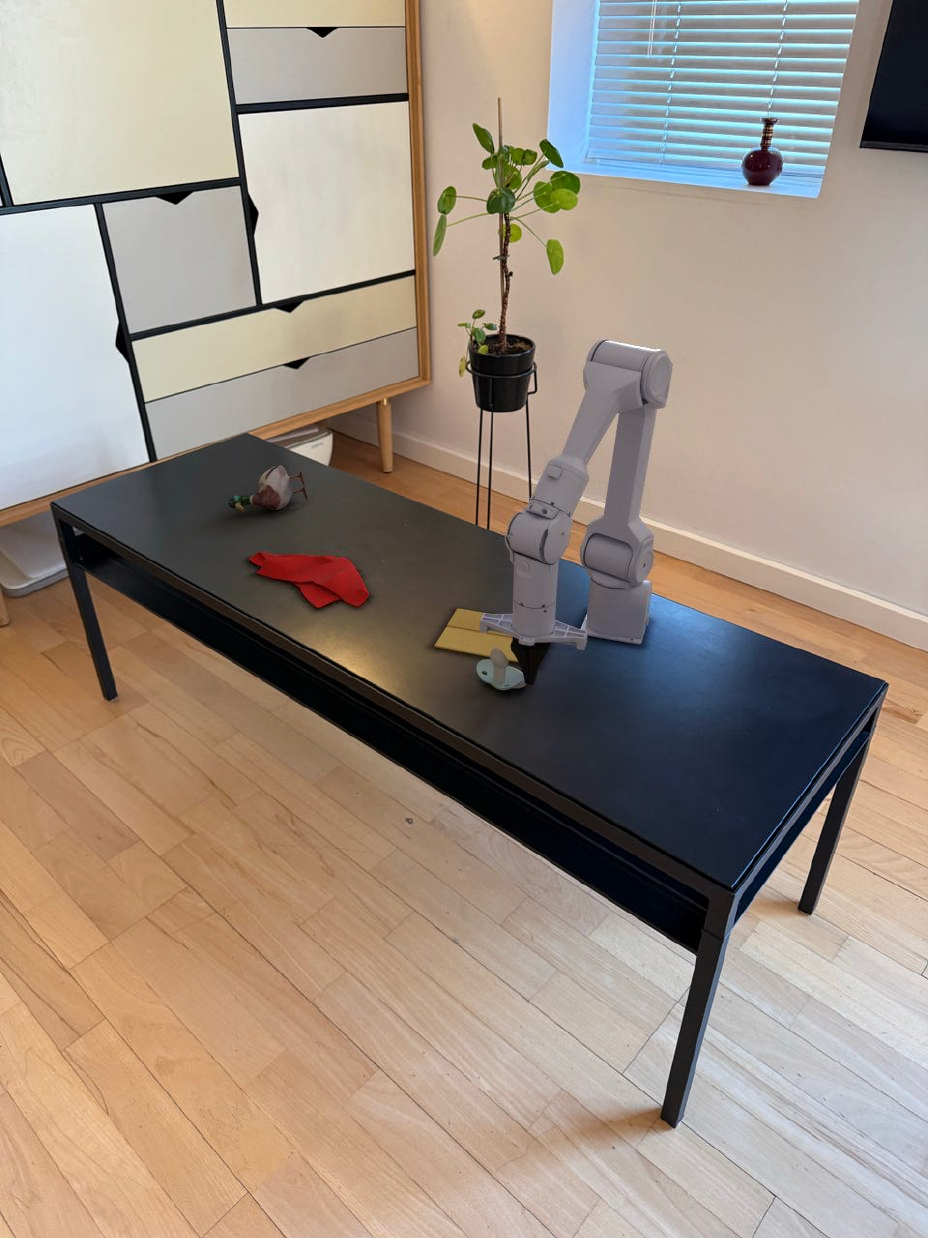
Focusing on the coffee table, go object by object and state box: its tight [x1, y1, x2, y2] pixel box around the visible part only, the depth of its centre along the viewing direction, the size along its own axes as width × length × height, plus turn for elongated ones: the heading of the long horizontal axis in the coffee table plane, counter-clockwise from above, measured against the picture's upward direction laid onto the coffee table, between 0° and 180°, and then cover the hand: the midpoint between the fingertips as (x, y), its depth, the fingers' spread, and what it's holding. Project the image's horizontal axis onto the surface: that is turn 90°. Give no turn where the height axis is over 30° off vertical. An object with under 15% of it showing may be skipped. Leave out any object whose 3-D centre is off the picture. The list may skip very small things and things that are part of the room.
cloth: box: [249, 551, 370, 609], centre depth 152 cm, size 26×14×2 cm, turn 45°
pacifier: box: [476, 648, 527, 691], centre depth 125 cm, size 7×6×6 cm
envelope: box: [433, 608, 519, 664], centre depth 136 cm, size 16×11×1 cm
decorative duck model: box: [227, 464, 309, 513], centre depth 175 cm, size 15×8×15 cm
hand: (530, 680), depth 124 cm, fingers closed
